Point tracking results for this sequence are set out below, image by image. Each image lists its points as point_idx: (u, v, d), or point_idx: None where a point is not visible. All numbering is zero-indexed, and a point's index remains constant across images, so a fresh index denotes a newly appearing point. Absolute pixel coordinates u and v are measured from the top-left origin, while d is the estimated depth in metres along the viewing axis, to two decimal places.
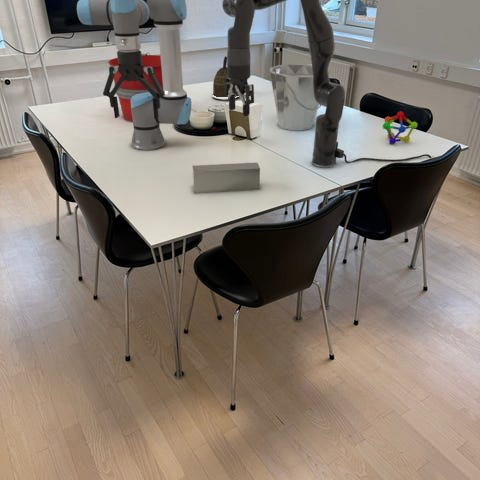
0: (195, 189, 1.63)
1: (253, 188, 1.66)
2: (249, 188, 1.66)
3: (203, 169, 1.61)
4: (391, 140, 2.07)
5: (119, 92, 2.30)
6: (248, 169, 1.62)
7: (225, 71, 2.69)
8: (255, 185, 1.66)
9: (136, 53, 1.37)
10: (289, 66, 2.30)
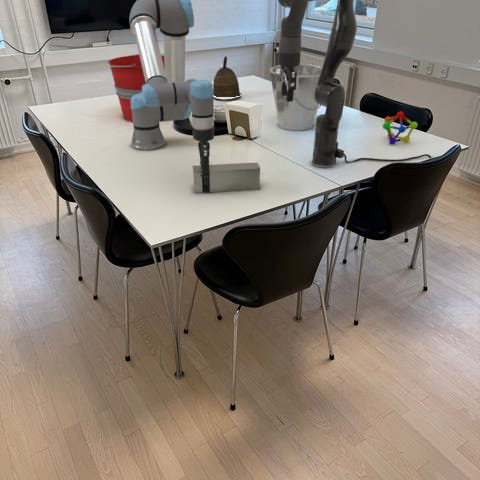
0: (195, 189, 1.63)
1: (253, 188, 1.66)
2: (249, 188, 1.66)
3: None
4: (391, 140, 2.07)
5: (119, 92, 2.30)
6: (248, 169, 1.62)
7: (225, 71, 2.69)
8: (255, 185, 1.66)
9: None
10: None
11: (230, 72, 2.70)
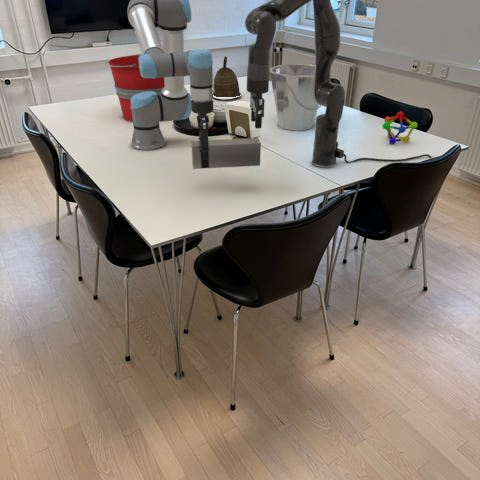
0: (193, 165, 1.58)
1: (253, 164, 1.61)
2: (249, 164, 1.61)
3: None
4: (391, 140, 2.07)
5: (119, 92, 2.30)
6: (249, 144, 1.57)
7: (225, 71, 2.69)
8: (255, 161, 1.60)
9: None
10: (289, 66, 2.30)
11: (230, 72, 2.70)
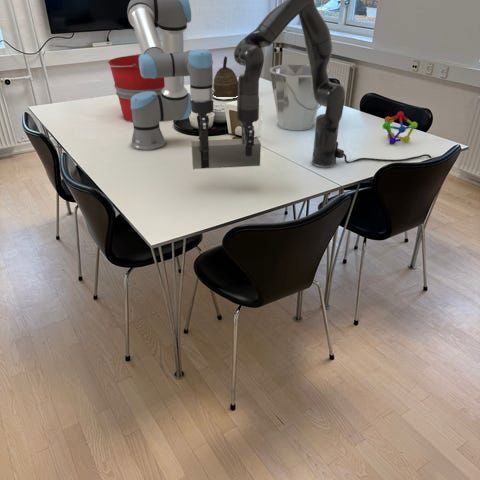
0: (193, 165, 1.58)
1: (253, 164, 1.61)
2: (249, 164, 1.61)
3: None
4: (391, 140, 2.07)
5: (119, 92, 2.30)
6: None
7: (225, 71, 2.69)
8: (255, 161, 1.60)
9: None
10: (289, 66, 2.30)
11: (230, 72, 2.70)
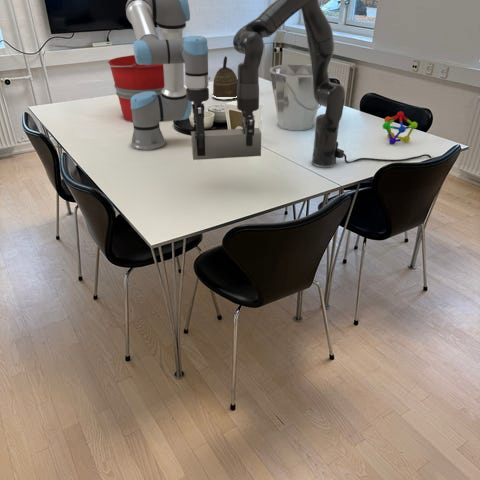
0: (193, 156, 1.56)
1: (254, 154, 1.59)
2: (250, 154, 1.59)
3: (201, 134, 1.54)
4: (391, 140, 2.07)
5: (119, 92, 2.30)
6: None
7: (225, 71, 2.69)
8: (256, 151, 1.59)
9: None
10: (289, 66, 2.30)
11: (230, 72, 2.70)
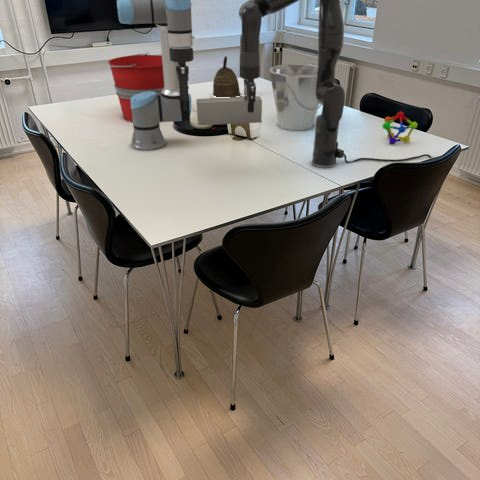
0: (198, 121, 1.68)
1: (255, 121, 1.71)
2: (251, 121, 1.70)
3: (206, 101, 1.65)
4: (391, 140, 2.07)
5: (119, 92, 2.30)
6: None
7: (225, 71, 2.69)
8: (257, 117, 1.70)
9: None
10: (289, 66, 2.30)
11: (230, 72, 2.70)
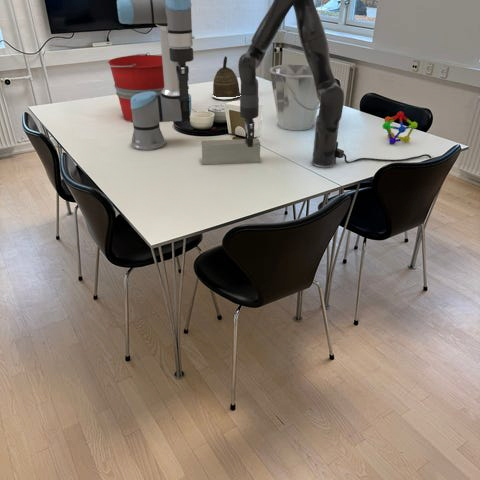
0: (203, 161, 1.86)
1: (254, 161, 1.89)
2: (250, 161, 1.89)
3: (210, 143, 1.84)
4: (391, 140, 2.07)
5: (119, 92, 2.30)
6: None
7: (225, 71, 2.69)
8: (255, 158, 1.88)
9: None
10: (289, 66, 2.30)
11: (230, 72, 2.70)
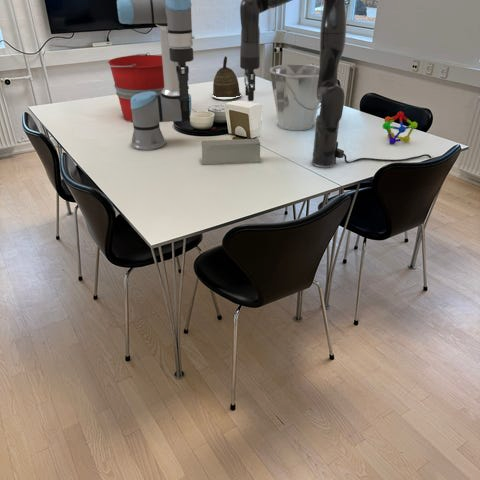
0: (203, 161, 1.86)
1: (254, 161, 1.89)
2: (250, 161, 1.89)
3: (210, 143, 1.84)
4: (391, 140, 2.07)
5: (119, 92, 2.30)
6: (250, 144, 1.85)
7: (225, 71, 2.69)
8: (255, 158, 1.88)
9: None
10: (289, 66, 2.30)
11: (230, 72, 2.70)
